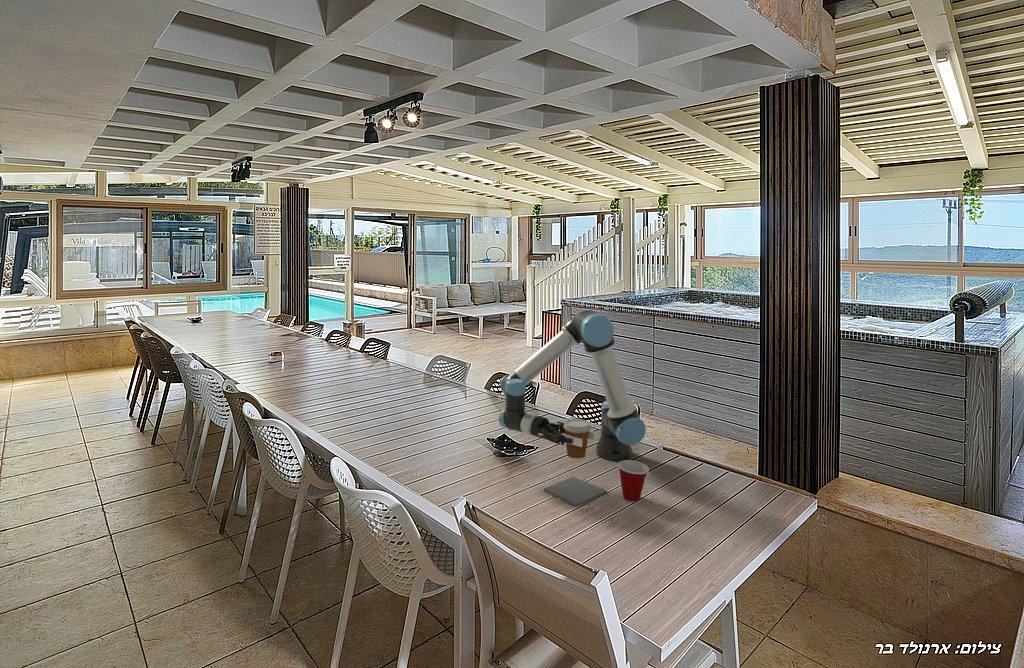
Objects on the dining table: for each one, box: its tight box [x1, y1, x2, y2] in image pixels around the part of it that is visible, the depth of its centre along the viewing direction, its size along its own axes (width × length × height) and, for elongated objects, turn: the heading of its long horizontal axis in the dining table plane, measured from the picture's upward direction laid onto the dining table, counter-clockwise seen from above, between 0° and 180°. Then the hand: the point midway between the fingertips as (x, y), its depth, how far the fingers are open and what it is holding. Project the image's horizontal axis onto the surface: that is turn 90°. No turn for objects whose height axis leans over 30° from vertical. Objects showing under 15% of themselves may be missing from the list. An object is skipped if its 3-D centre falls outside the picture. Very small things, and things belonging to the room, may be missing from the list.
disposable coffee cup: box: [564, 418, 592, 459], centre depth 201 cm, size 10×10×12 cm
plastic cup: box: [617, 459, 650, 502], centre depth 200 cm, size 11×11×12 cm
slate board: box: [543, 476, 608, 507], centre depth 205 cm, size 16×16×1 cm
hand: (588, 439), depth 198 cm, fingers closed on disposable coffee cup, 8 cm apart
